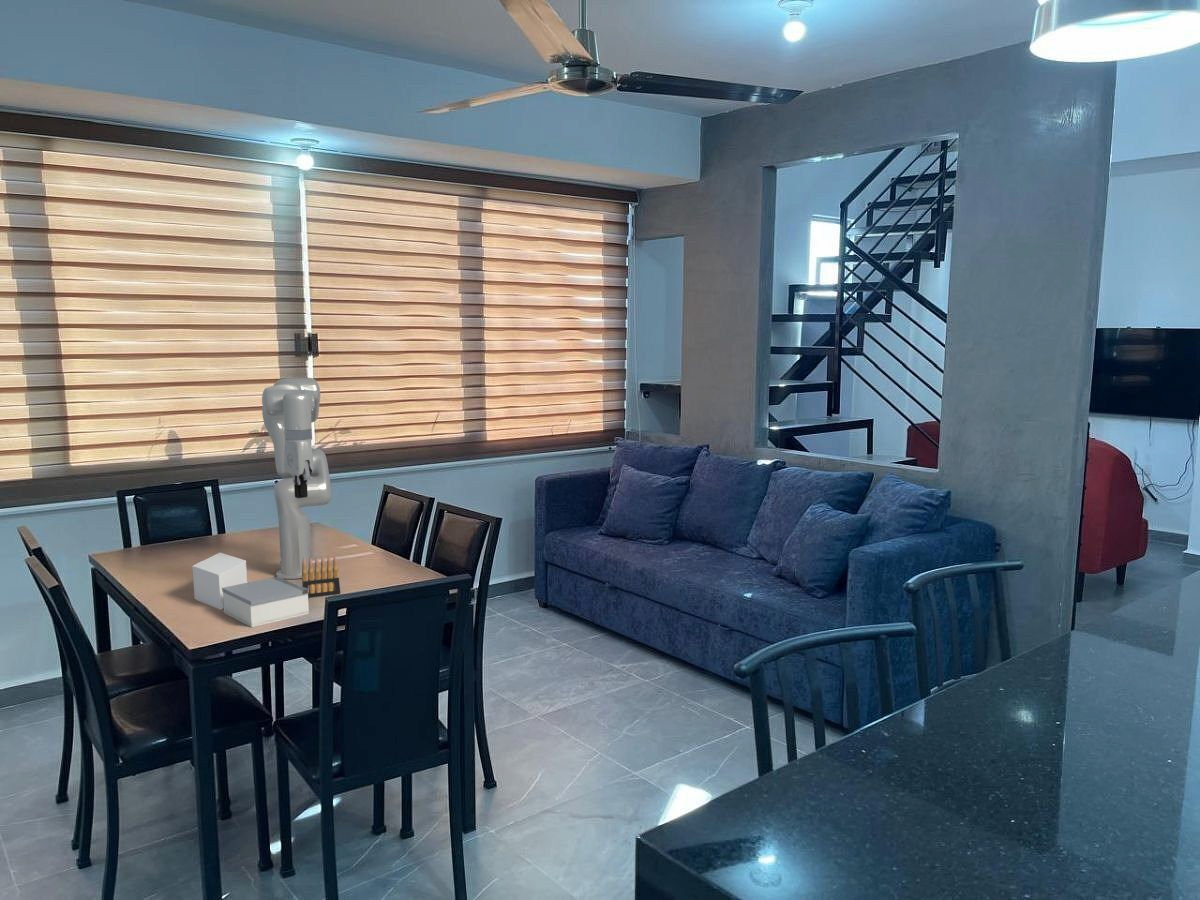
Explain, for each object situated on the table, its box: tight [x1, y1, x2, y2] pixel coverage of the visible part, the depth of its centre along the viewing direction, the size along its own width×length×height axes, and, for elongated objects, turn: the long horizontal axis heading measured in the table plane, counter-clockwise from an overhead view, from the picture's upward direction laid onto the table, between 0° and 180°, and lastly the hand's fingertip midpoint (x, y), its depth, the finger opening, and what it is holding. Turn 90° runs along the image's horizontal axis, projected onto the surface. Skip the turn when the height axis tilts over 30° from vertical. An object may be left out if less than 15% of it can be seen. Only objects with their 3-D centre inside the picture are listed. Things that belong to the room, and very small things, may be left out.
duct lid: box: [222, 576, 309, 605], centre depth 239 cm, size 19×16×1 cm
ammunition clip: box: [301, 554, 341, 599], centre depth 256 cm, size 11×2×12 cm, turn 114°
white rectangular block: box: [191, 552, 248, 611], centre depth 256 cm, size 14×29×10 cm, turn 23°
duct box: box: [223, 592, 310, 628], centre depth 240 cm, size 18×17×6 cm
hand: (301, 497), depth 252 cm, fingers closed
